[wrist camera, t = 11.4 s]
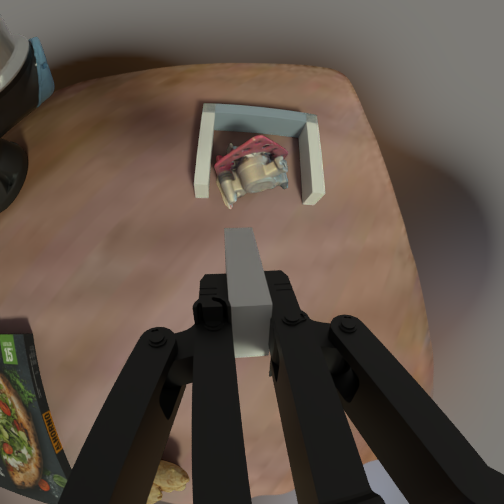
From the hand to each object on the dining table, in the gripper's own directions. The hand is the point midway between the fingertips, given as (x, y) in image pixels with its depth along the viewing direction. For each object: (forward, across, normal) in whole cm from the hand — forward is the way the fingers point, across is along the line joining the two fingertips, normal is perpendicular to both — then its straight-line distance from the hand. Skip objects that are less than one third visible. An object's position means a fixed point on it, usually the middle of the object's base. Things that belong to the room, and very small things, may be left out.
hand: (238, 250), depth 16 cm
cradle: (+33, +5, -1) cm, 34 cm away
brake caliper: (+31, +4, -4) cm, 32 cm away
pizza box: (+2, -50, -36) cm, 61 cm away
